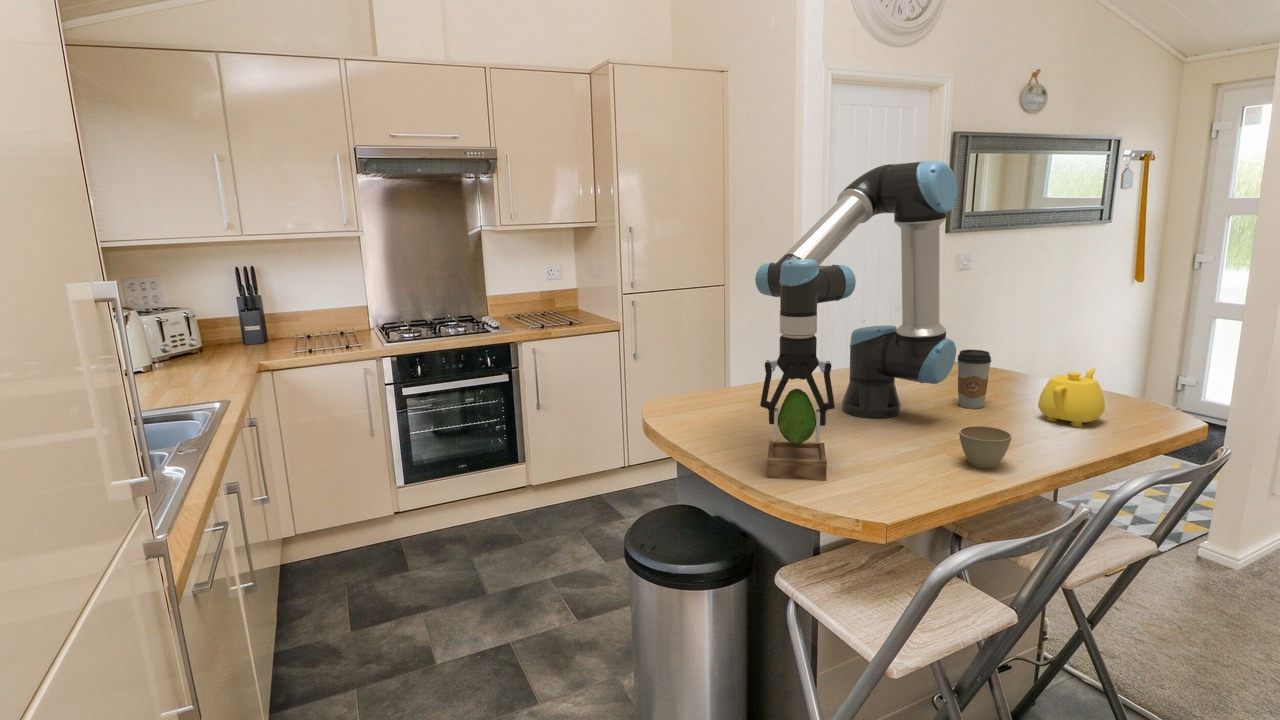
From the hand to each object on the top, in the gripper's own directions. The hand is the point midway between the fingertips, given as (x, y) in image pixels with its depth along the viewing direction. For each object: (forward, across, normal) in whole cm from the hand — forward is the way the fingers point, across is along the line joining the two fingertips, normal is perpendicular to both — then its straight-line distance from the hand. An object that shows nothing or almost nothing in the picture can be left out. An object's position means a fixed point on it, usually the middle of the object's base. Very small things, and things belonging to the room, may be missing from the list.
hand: (796, 439), depth 149 cm
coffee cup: (+7, -47, -53) cm, 71 cm away
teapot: (+7, -68, -42) cm, 80 cm away
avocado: (+1, 0, 0) cm, 1 cm away
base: (+7, 0, 0) cm, 7 cm away
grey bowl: (+7, -39, -7) cm, 40 cm away
